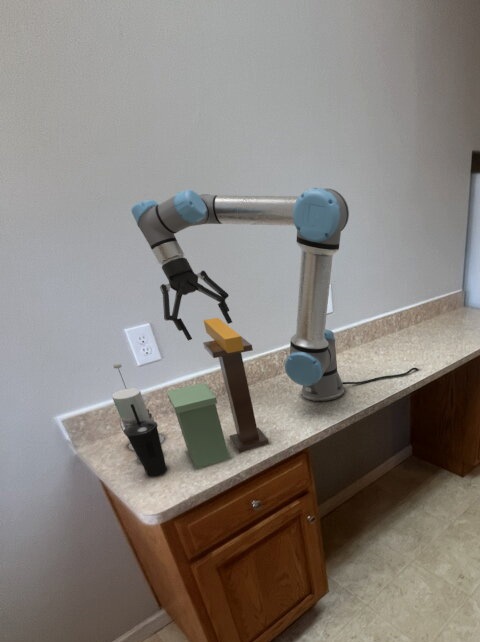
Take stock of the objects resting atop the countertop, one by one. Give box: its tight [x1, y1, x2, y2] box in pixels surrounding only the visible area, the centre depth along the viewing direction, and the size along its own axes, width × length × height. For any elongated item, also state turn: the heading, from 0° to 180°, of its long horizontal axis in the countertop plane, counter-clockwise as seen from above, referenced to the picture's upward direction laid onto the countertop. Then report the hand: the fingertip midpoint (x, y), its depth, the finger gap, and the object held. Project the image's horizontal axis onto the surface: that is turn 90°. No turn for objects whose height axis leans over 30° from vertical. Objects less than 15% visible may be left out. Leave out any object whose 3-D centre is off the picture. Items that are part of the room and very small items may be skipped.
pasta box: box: [203, 317, 244, 353], centre depth 110 cm, size 22×4×4 cm, turn 33°
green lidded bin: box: [166, 382, 231, 470], centre depth 114 cm, size 12×10×19 cm
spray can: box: [111, 387, 151, 464], centre depth 113 cm, size 6×6×20 cm
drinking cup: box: [123, 404, 168, 478], centre depth 107 cm, size 8×8×20 cm
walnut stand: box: [202, 336, 270, 454], centre depth 117 cm, size 10×10×30 cm
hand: (210, 331), depth 129 cm, fingers open, 13 cm apart
